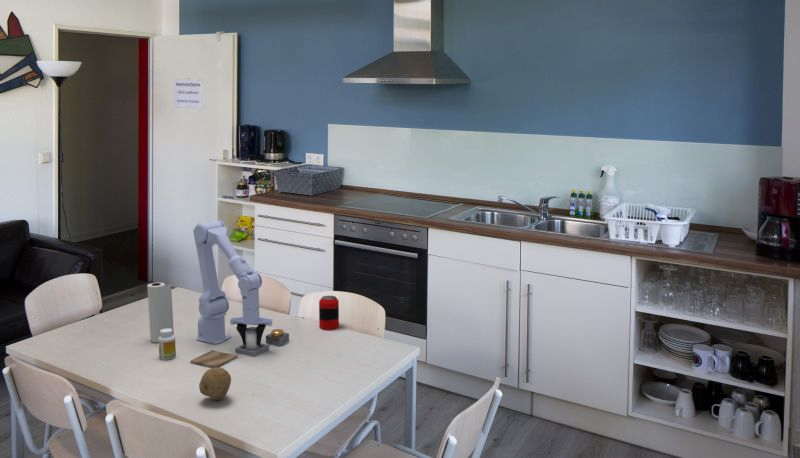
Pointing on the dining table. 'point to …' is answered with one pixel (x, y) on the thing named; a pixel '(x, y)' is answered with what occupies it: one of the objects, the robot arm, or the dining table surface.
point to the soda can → (329, 313)
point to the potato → (215, 383)
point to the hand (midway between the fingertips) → (252, 344)
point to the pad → (213, 359)
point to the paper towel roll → (159, 309)
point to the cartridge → (251, 339)
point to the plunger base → (277, 339)
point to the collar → (243, 350)
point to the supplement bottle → (166, 344)
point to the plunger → (277, 332)
